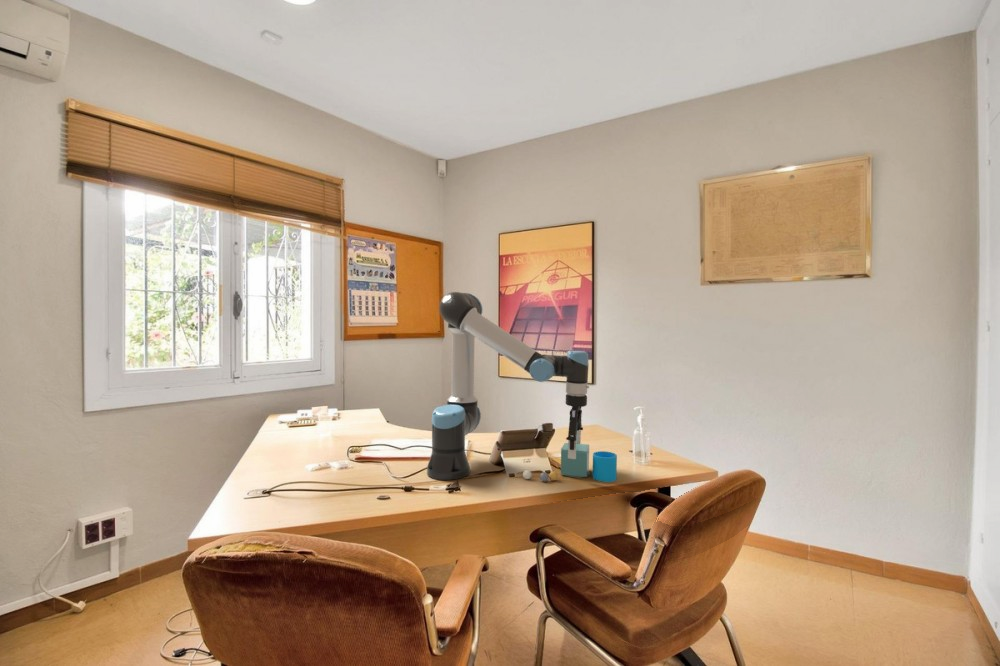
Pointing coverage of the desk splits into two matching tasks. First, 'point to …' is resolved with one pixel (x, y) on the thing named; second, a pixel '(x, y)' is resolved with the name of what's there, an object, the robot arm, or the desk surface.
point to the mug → (604, 466)
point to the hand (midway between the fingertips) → (574, 453)
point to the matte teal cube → (575, 461)
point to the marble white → (527, 474)
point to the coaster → (578, 476)
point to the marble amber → (553, 476)
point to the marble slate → (544, 476)
